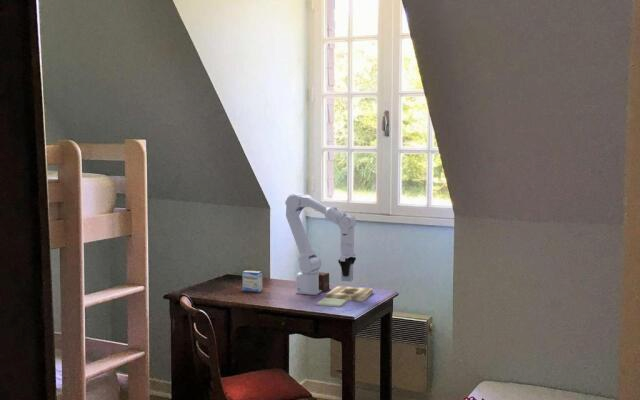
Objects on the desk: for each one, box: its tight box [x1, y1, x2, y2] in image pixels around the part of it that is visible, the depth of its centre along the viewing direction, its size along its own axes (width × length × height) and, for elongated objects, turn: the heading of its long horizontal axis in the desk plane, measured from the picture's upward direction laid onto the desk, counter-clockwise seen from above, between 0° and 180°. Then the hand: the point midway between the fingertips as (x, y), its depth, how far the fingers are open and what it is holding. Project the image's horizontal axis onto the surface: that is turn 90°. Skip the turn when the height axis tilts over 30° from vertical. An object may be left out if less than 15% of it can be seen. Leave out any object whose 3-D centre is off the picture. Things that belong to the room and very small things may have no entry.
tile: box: [316, 297, 349, 308], centre depth 293 cm, size 10×10×1 cm
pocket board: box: [325, 285, 374, 302], centre depth 306 cm, size 16×16×2 cm
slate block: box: [340, 264, 354, 282], centre depth 303 cm, size 4×4×7 cm
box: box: [319, 271, 330, 292], centre depth 318 cm, size 6×6×7 cm
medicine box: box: [242, 270, 263, 293], centre depth 316 cm, size 8×4×9 cm, turn 73°
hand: (347, 275), depth 303 cm, fingers closed on slate block, 4 cm apart
